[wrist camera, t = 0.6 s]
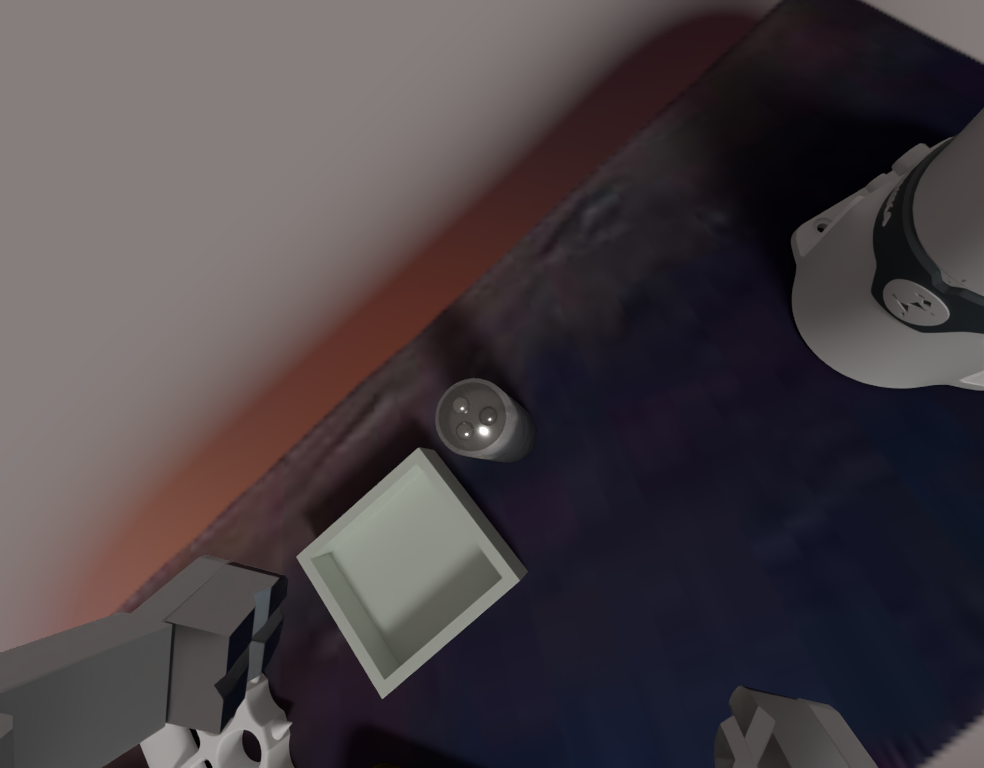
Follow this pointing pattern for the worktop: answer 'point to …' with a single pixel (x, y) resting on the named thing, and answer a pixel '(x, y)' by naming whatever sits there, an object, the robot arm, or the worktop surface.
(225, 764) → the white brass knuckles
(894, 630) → the worktop surface
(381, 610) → the sage bin
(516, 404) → the gray flashlight
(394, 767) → the element tile
